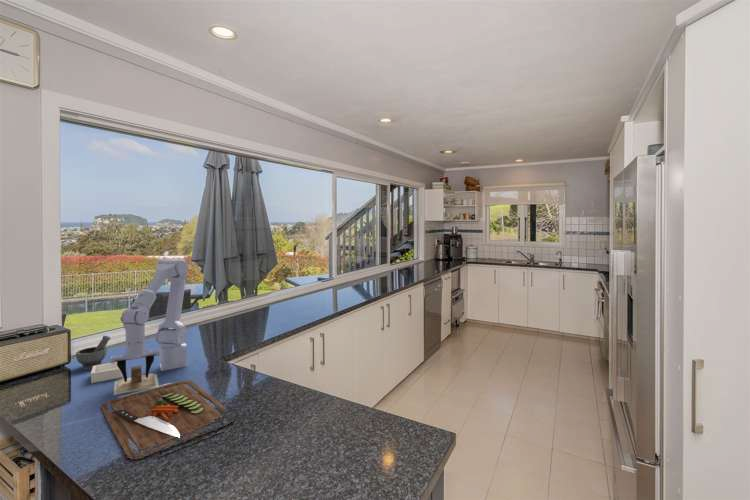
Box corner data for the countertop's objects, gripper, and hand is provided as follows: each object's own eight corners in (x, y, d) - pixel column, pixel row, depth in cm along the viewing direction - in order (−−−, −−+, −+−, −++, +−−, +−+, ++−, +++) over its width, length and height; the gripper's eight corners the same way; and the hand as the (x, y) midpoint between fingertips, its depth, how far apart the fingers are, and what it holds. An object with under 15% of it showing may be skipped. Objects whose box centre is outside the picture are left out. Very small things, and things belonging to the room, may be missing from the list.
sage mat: (156, 374, 137) (156, 373, 137) (158, 386, 126) (158, 385, 126) (114, 382, 130) (114, 381, 130) (113, 396, 119) (113, 395, 119)
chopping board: (243, 426, 102) (243, 415, 102) (132, 470, 83) (132, 457, 82) (187, 380, 133) (187, 372, 133) (97, 405, 114) (97, 395, 114)
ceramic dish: (122, 371, 141) (122, 361, 141) (121, 378, 133) (121, 368, 133) (93, 376, 136) (93, 365, 135) (91, 384, 128) (90, 373, 128)
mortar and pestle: (77, 373, 138) (76, 342, 138) (75, 366, 145) (74, 337, 145) (112, 366, 146) (111, 337, 145) (110, 360, 153) (109, 332, 152)
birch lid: (153, 375, 136) (153, 360, 135) (155, 385, 127) (155, 369, 126) (118, 382, 129) (117, 366, 129) (117, 393, 120) (116, 376, 120)
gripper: (109, 348, 120) (110, 387, 121) (159, 340, 128) (160, 377, 129) (110, 342, 126) (111, 380, 126) (158, 336, 134) (159, 371, 135)
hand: (136, 378), depth 128 cm, fingers open, 6 cm apart
